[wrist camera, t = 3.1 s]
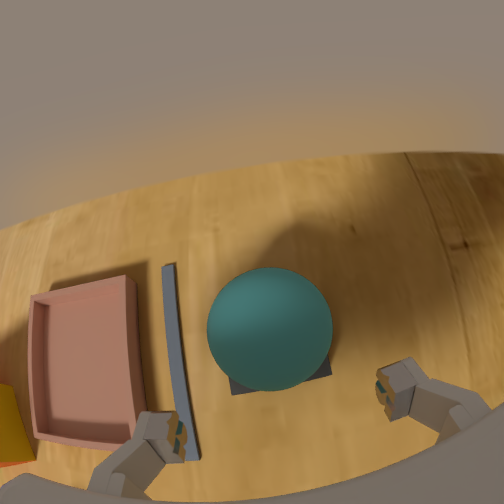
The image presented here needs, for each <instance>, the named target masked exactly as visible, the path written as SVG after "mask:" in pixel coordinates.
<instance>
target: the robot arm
mask: <svg viewBox="0 0 504 504" xmlns="http://www.w3.org/2000/svg"><path fill="white" fill-rule="evenodd" d="M376 376H377V378H378V381H377V382H376V386H375V390H376V395H377V398H378V400H379V402H380V404H382V405H384V406H385V409H384V412H385V414H386V415H387V417H388V419H389V421H390V422H392V421H394V420H397V419H400V418H402V417H405V416H407V415H409V417H411V418H413V419H415V420H417V421H418V422H420V423H422V424H424V425H426V426H428V427H429V428H431V429H433V430H435V431H437V432H439V433H440V434H439V436H438V439H437V441H436V443H435V445H434V446H432V447H430V448H428V449H426V450H424V451H422V452H419V453H417V454H415V455H413V456H411V457H408V458H406V459H404V460H402V461H399V462H397V463H394V464H392V465H389V466H387V467H384V468H382V469H379V470H376V471H373V472H371V473H368V474H365V475H362V476H359V477H356V478H352V479H349V480H346V481H342V482H339V483H335V484H332V485H328V486H324V487H320V488H316V489H311V490H307V491H302V492H297V493H292V494H286V495H280V496H274V497H267V498H259V499H250V500H240V501H226V502H167V501H153V500H152V499H151V498H150V497H149V496H147V495H146V494H145V493H144V491H145V490H146V489H147V487H148V486H149V485H150V484H151V482H152V481H153V480H154V479H155V478H156V476H157V475H158V474H159V473H160V471H161V470H162V469H163V468H164V466H165V465H166V464H173V463H184V462H185V455H186V450H185V449H184V447H183V446H184V445H185V444H186V443H187V438H188V436H187V430H186V427H185V425H184V423H183V422H181V421H180V420H179V415H178V413H177V411H142V412H141V413H140V414H139V417H138V420H137V423H136V427H135V430H134V433H133V436H132V440H128V441H126V442H125V443H124V444H123V445H122V446H121V447H119V448H118V449H117V450H116V451H115V452H114V453H112V454H111V455H110V456H109V457H108V458H107V459H105V460H104V461H103V462H102V463H101V464H99V465H98V466H97V467H96V468H95V469H94V471H93V474H92V477H91V480H90V483H89V486H88V489H87V490H84V489H79V488H75V487H71V486H68V485H64V484H61V483H57V482H54V481H51V480H48V479H45V478H42V477H39V476H36V475H33V474H30V473H23V474H21V475H19V476H17V477H15V478H14V479H12V480H10V481H9V482H7V483H5V484H4V485H3V486H2V487H1V488H0V504H504V402H503V403H502V404H500V405H499V406H498V407H496V408H495V409H493V410H491V409H490V408H489V406H488V405H487V404H486V403H485V402H484V400H483V399H482V398H481V397H480V396H479V394H478V393H476V392H473V391H470V390H467V389H463V388H460V387H457V386H454V385H451V384H448V383H445V382H442V381H439V380H436V379H433V378H432V379H429V378H428V377H427V375H426V374H425V373H424V372H423V370H422V369H421V368H420V367H419V366H418V364H417V363H416V362H415V361H414V359H413V358H412V357H408V358H406V359H403V360H400V361H398V362H395V363H392V364H390V365H387V366H384V367H382V368H379V369H378V370H377V373H376Z"/></svg>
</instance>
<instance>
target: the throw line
mask: <svg viewBox="0 0 504 504" xmlns="http://www.w3.org/2000/svg"><path fill="white" fill-rule="evenodd" d="M162 287H163V303H164V316H165V328H166V338H167V348H168V357H169V365H170V373H171V381H172V388H173V395H174V402H175V408H176V411H177V413H178V415H179V420H180V421H181V422H183V423H184V425H185V427H186V430H187V436H188V438H187V443H186V444H185V445H184V446H183V447H184V449H185V450H186V455H185V461H194V460H200V456H199V451H198V446H197V441H196V436H195V431H194V425H193V420H192V414H191V408H190V402H189V396H188V389H187V383H186V376H185V368H184V361H183V353H182V345H181V336H180V327H179V318H178V307H177V296H176V283H175V269H174V265H173V264H172V265H168V266H163V267H162Z"/></svg>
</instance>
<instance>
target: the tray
mask: <svg viewBox="0 0 504 504" xmlns="http://www.w3.org/2000/svg"><path fill="white" fill-rule="evenodd" d="M28 384H29V398H30V409H31V418H32V426H33V433H34V438H37V439H41V440H45V441H50V442H55V443H60V444H65V445H70V446H76V447H83V448H89V449H97V450H106V451H116V450H117V449H118V448H119V447H121V446H122V445H123V444H124V443H125V442H126V441H128V440H132V436H133V433H134V430H135V427H136V423H137V420H138V417H139V414H140V413H141V412H142V411H147V405H146V398H145V390H144V382H143V373H142V363H141V353H140V340H139V324H138V302H137V284H136V283H135V282H134V281H133V280H132V279H130V278H129V277H128V276H127V275H121V276H117V277H112V278H108V279H103V280H98V281H94V282H89V283H85V284H80V285H76V286H71V287H67V288H63V289H58V290H54V291H49V292H45V293H40V294H36V295H31V300H30V311H29V326H28Z"/></svg>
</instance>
